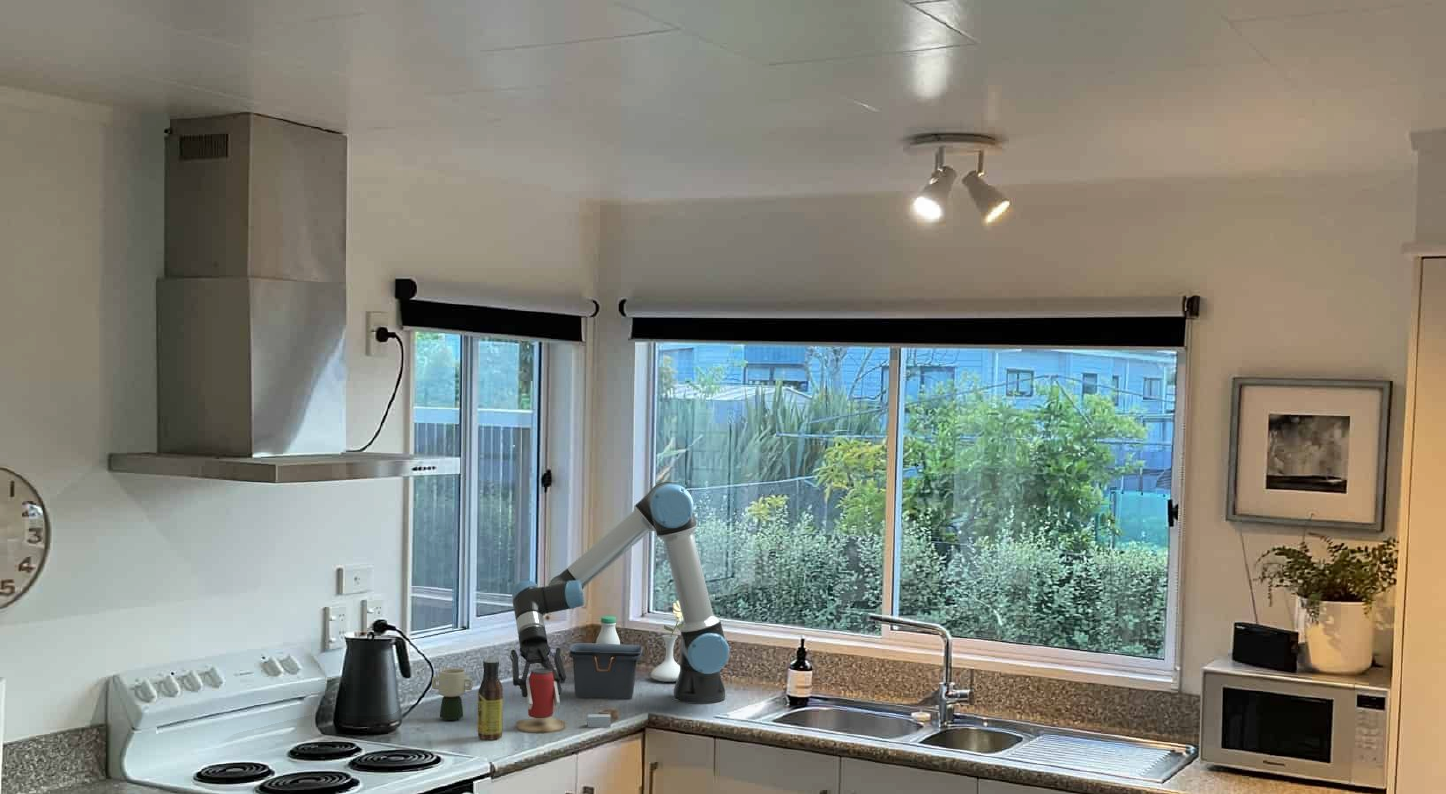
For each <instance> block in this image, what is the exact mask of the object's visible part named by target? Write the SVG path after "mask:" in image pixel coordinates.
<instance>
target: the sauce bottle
mask: <svg viewBox="0 0 1446 794" xmlns="http://www.w3.org/2000/svg"><path fill="white" fill-rule="evenodd" d="M482 666H483V675H482V681H481V683H480V686H479V689H478V691H477V736H478V738H479V740H483V741H496V740H499V739H500V738H501V737H502V736H503V734H502V733H503V720H504V719H503V717H504V715H503V714H504V713H503V712H504V709H503V707H504V706H503V705H504V703H503V702H504V696H503V695H504V694H503V685H502V684H503V683H502V682H501V681H500V678H499V676H500V675H499V668H500V660H499V659H497V658H496V659H495V658H488V659H484V660H483V661H482Z"/></svg>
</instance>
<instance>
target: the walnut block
mask: <svg viewBox="0 0 1446 794" xmlns="http://www.w3.org/2000/svg"><path fill="white" fill-rule="evenodd" d="M598 714H610V716H611V724H612V723H614V722H616V721H618V720H619V708H613V707H607V708H606V709H602V710H600V711H599V712H598Z"/></svg>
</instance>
